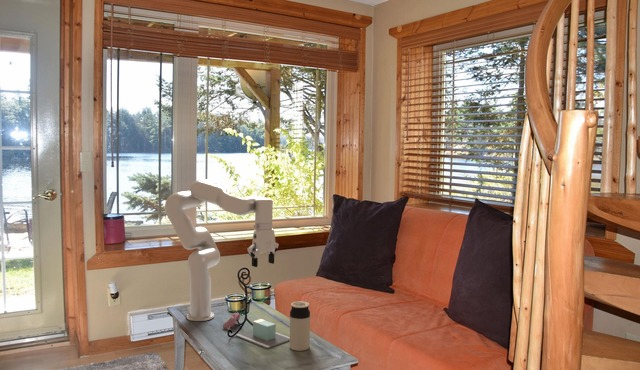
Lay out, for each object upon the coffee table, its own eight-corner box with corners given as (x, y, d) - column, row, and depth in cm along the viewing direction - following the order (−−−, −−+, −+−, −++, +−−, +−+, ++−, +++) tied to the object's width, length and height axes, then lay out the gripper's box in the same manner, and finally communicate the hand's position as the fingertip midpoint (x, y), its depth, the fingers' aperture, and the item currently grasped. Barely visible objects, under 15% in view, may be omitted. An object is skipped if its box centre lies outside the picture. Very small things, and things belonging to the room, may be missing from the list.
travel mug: (294, 352, 218) (295, 307, 217) (286, 345, 225) (286, 302, 224) (312, 349, 222) (313, 305, 220) (304, 342, 229) (304, 300, 227)
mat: (235, 336, 235) (235, 334, 235) (260, 328, 245) (260, 326, 245) (267, 348, 222) (267, 347, 222) (292, 339, 232) (292, 338, 232)
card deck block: (267, 340, 229) (267, 326, 228) (252, 335, 235) (253, 321, 234) (275, 338, 232) (275, 323, 232) (260, 332, 238) (261, 318, 238)
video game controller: (230, 333, 243) (237, 319, 242) (221, 327, 244) (228, 314, 243) (237, 325, 253) (244, 312, 252) (228, 320, 254) (235, 307, 252)
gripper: (254, 229, 235) (253, 269, 236) (284, 225, 247) (283, 263, 249) (242, 227, 240) (242, 266, 241) (272, 223, 252) (272, 260, 254)
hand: (263, 264), depth 245 cm, fingers open, 9 cm apart
